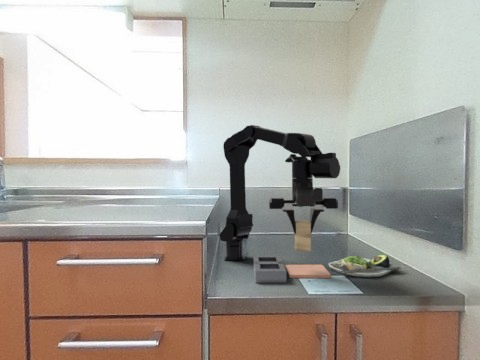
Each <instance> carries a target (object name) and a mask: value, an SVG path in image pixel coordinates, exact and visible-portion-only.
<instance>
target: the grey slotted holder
mask: <svg viewBox="0 0 480 360" xmlns="http://www.w3.org/2000/svg"><path fill="white" fill-rule="evenodd" d="M252 259H253V261H252V262H253V264H252V265H253V274H254V283H255V284H266V283H267V284H272V283H273V284H279V283H280V284H286V283H287V270H286V268H285V265H284V262H283V260H282V259H281V256H280V255H253V257H252Z"/></svg>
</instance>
